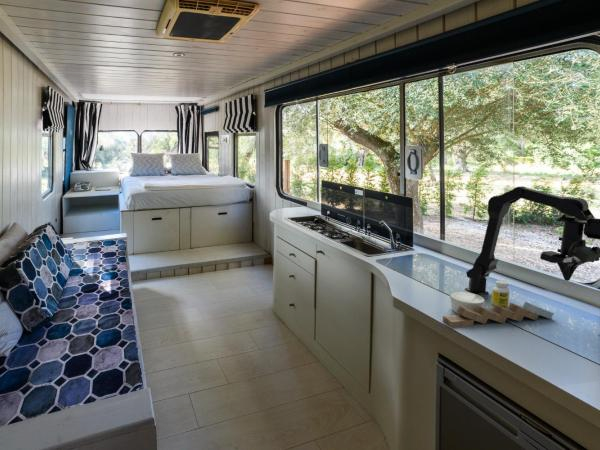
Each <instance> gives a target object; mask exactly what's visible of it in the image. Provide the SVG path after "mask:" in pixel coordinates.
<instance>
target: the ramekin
mask: <svg viewBox="0 0 600 450" xmlns="http://www.w3.org/2000/svg"><path fill="white" fill-rule="evenodd" d="M449 297H450V307H451V309H452V310H453V311H454V313H456V314H457V315H461V314H460V313H458V312H457V310H458V307H459V305H460V306H463V307H466V308H468V309H471V310H474V311H475V310H476V308H477V306H478V305H479V306H482V307H484V304H485V301H486V300H485V298H484V297H482V296H480V294H473V293H471V292H465V291H464V292H463V291H455V292H452V293H450V296H449Z"/></svg>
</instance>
